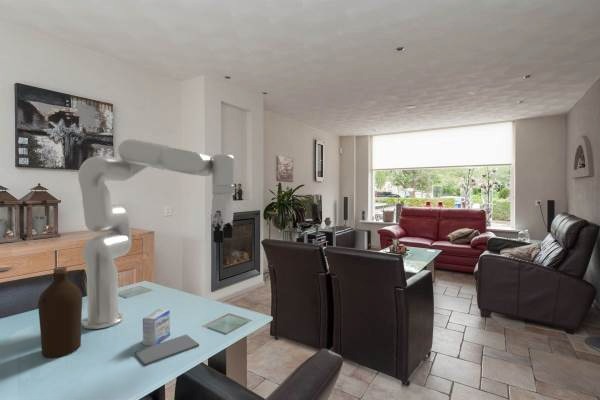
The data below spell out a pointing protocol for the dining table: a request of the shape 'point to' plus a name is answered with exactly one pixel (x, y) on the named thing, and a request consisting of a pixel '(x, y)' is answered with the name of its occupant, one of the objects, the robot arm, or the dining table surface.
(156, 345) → the mat
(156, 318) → the medicine box
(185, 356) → the dining table surface
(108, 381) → the dining table surface
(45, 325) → the olive oil
